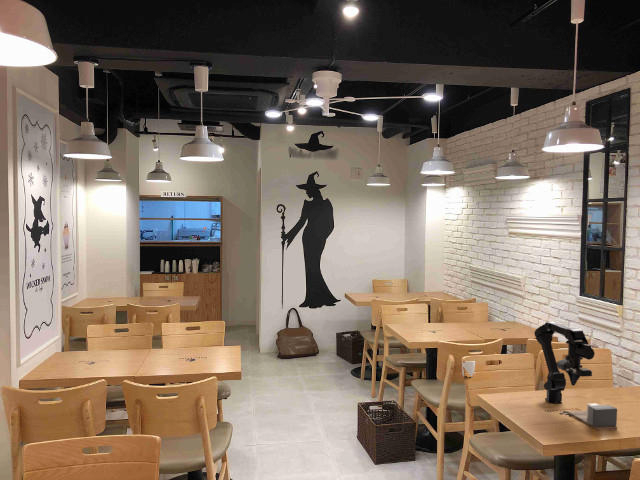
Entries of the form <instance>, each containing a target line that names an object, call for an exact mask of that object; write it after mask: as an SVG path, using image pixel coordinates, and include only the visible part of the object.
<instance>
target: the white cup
mask: <svg viewBox="0 0 640 480" xmlns="http://www.w3.org/2000/svg"><path fill="white" fill-rule="evenodd" d="M463 367H464V368H465V370H466V371H467V372H468V373H469V375H470V376H472V375H473V373H474V374H475V371H474V370H476V360H475V361H465V363H463V362H462V361H461V371H462V372H461V373H462V375H461V376H462V377H464V370H463Z"/></svg>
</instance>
